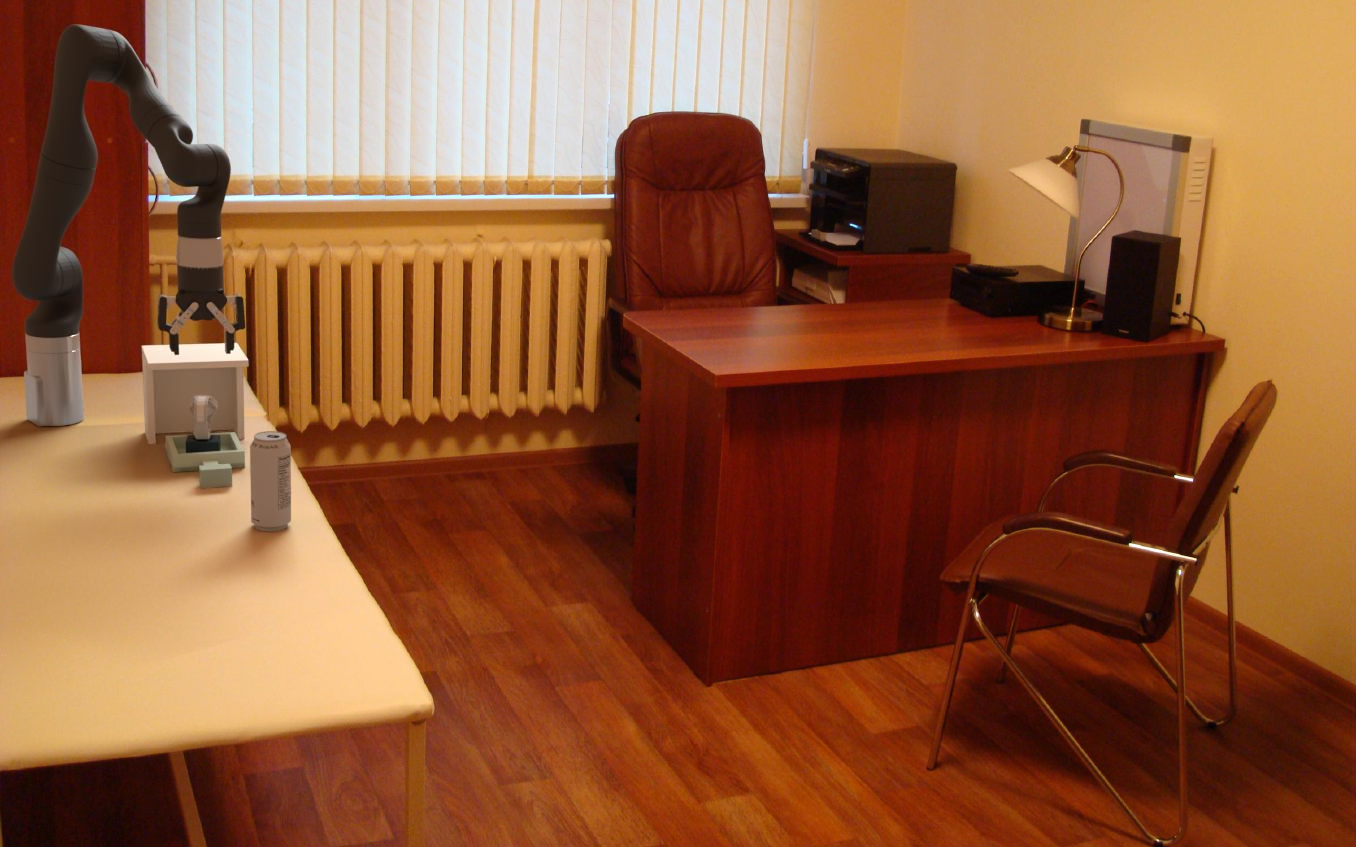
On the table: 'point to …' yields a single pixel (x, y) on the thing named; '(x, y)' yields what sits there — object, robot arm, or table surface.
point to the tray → (207, 459)
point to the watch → (203, 425)
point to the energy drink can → (270, 481)
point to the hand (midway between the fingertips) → (202, 353)
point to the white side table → (192, 387)
